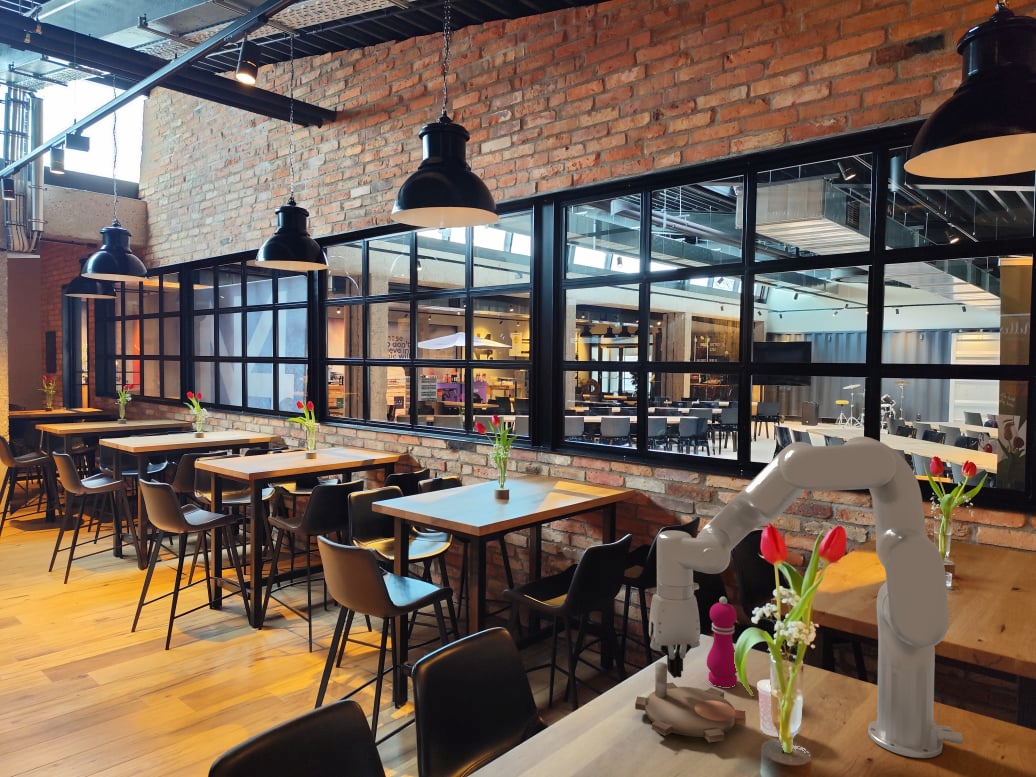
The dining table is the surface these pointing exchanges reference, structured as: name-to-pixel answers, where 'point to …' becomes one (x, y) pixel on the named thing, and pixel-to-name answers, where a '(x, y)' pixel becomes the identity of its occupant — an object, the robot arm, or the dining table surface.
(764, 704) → the beverage cup
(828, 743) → the dining table surface
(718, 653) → the pepper mill
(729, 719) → the sprocket
